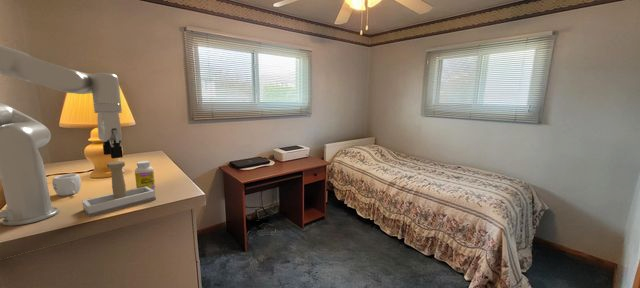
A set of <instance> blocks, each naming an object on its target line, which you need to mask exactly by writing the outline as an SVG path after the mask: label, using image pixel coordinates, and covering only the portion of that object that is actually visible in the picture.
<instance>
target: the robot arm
mask: <svg viewBox="0 0 640 288" xmlns="http://www.w3.org/2000/svg"><path fill="white" fill-rule="evenodd" d="M0 75H3V76H7V77H10V78H12V79H16V80H21V81H25V82H29V83H31V84H35V85H38V86H42V87H44V88H45V87H46V88H49V89H52V90H56V91H60V92H63V93H67V94H76V95H77V94H78V95H87V94H92V100H93V101H92V103H93V111H94V113H95V114H97V116H96V118H97V133H98V135H97V136H98V139H99V140H100V141H102V150H103V155H105V156H108V155H110V158H111V159H121V158H123V157H124V156H123V146H122V142H121V140H122V138H123V137H122V136H123V135H122V125H121V119H120V114H123V113H122V111H123V110H122V101H121V100H122V99H121V92H120V91H121V90H120V82H119V81H120V80H119V77H118V76H117V75H116V74H115V73H108V72H94V73H93V72H92V73H89V72H82V71H79V70H75V69H71V68H68V67H65V66H63V65H58V64H55V63H52V62H49V61H45V60H42V59H39V58H37V57H34V56H31V55H30V54H29V53H26V52H24V51H21V50H18V49H15V48H11V47H9V46H5V45H2V44H0ZM51 138H52V132H51V131H50V129H49V128H48V127H47V126H46V125H44V124H43V123H42V122H40V121H38V120H36V119H34V118H33V117H30V116H29V115H27V114H25V113H24V112H21V111H19V110H18V109H15V108H14V107H12V106H10V105H7V104H5V103H1V102H0V179H1V185H2V188H3V194H4V199H5V203H6V206H5V209H2V210H0V220H1V219H2V221H1V223H2V225H4V226H11V227H12V226H21V225H27V224H31V223H35V222H36V223H37V222H40V221H43V220H46V219H49V218H52V217H53V216H55V215H57V214H58V213H59V212H60V210H59V209H60V208H59V207H57V206H52V201H51V197H50V196H51V195H50V189H49V186H48V178H47V174H46V170H45V169H46V168H45V165H44V160H43V158H42V156H41V153H40V151H39V148H42V147H45V146H46V145H47V144H48V143H49V142H50V140H51Z"/></svg>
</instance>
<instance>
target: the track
mask: <svg viewBox="0 0 640 288" xmlns="http://www.w3.org/2000/svg"><path fill="white" fill-rule="evenodd" d="M156 199H157V198H156V191H155V189H154V190H152V189H151V188H149V187H147V186H145V187H141V188H137V187H136V188H132V189H129V190H126V196H125V197H123V198H119V199H116V198H114V194H113V193H111V194H110V193H109V194H106V195H101V196H96V197H93V198H88V199H83V200H81V201H82V209H83V212H85V214H87V216H88V217H95V216H98V215H102V214H106V213H110V212H113V211H117V210H121V209H125V208H127V207H132V206H135V205H136V206H137V205H139V204H144V203H148V202H150V201H151V202H152V201H154V200H156Z"/></svg>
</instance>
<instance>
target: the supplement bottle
mask: <svg viewBox="0 0 640 288" xmlns="http://www.w3.org/2000/svg"><path fill="white" fill-rule="evenodd" d="M150 161H151V160H140V161H138V162H136V166H137V168H135V169H134V176H135V185H136V188H141V187H145V186H147V187H149V188H151V189H152V190H154V191H155V190H156V184H155V175H154V174H155V172H154V168H153V167H152V166H151V162H150Z"/></svg>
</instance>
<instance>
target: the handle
mask: <svg viewBox="0 0 640 288" xmlns="http://www.w3.org/2000/svg"><path fill="white" fill-rule="evenodd" d="M106 166H107V168H108V169H110V173H111V187H112V194H114V198H116V199H119V198H123V197H125V196H126V191H127V190H126V189H127V188H126V183H125V182H126V181H125V177H124V172H123V168H124V167H125V166H126V164H125V161H122V160H121V161H120V160H119V161H118V160H116V161H110V162H106Z"/></svg>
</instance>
